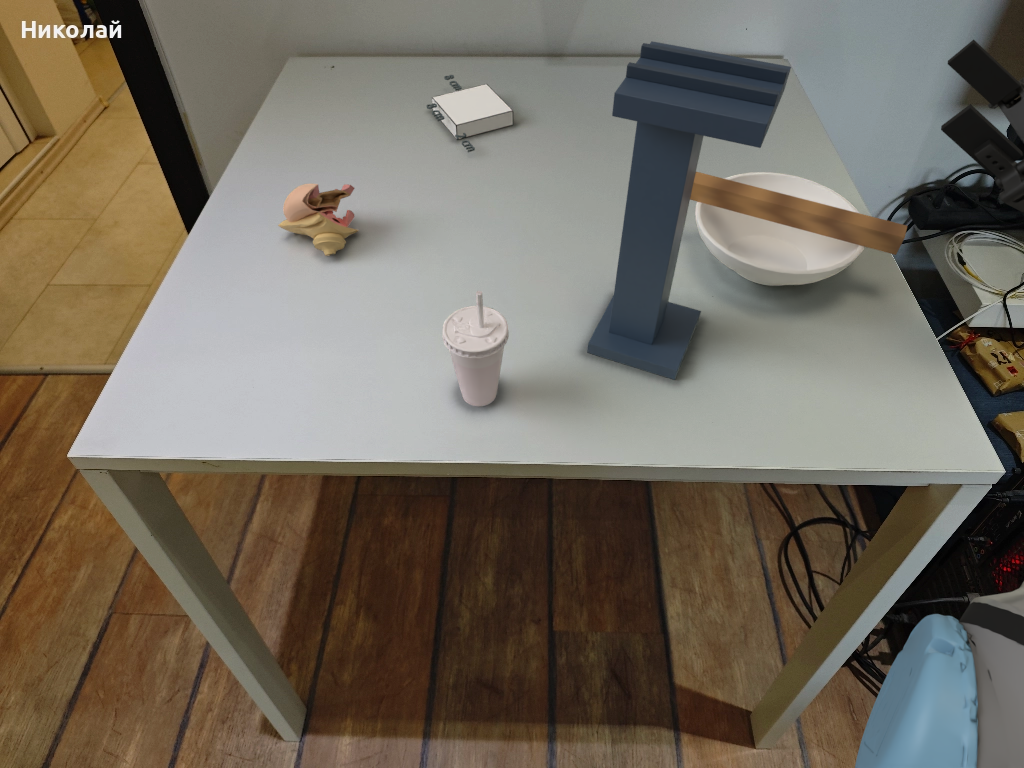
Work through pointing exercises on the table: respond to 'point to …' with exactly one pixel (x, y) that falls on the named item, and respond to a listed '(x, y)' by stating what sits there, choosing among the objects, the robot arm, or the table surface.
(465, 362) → the smoothie
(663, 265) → the lectern stand
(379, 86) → the table surface
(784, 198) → the stirring stick
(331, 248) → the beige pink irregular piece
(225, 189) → the table surface
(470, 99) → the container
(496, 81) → the table surface
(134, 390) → the table surface
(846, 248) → the bowl
